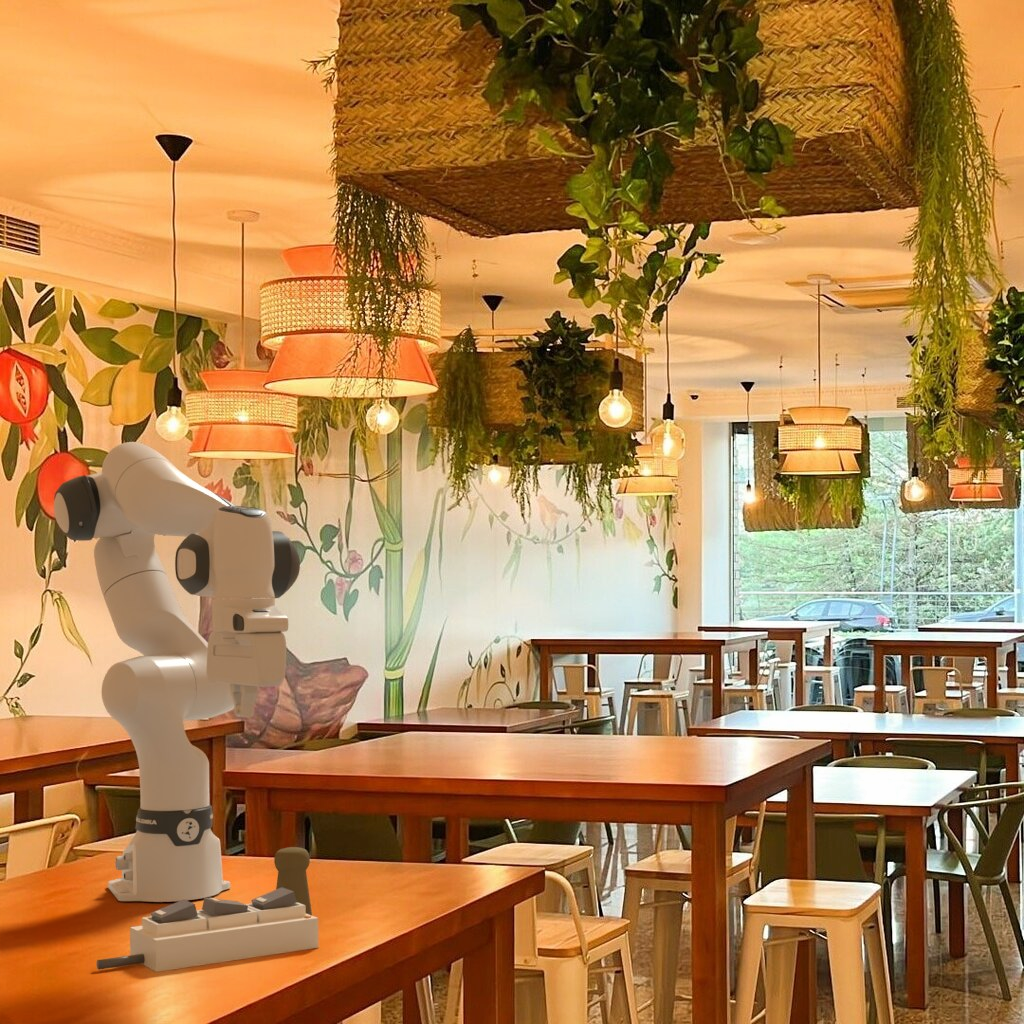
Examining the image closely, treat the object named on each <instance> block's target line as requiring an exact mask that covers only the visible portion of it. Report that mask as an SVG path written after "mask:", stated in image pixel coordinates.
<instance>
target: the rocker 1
mask: <svg viewBox="0 0 1024 1024" xmlns="http://www.w3.org/2000/svg"><path fill="white" fill-rule="evenodd" d="M151 916H152V920H153V921H155V922H157V923H159V924H162V923H170V922H177V921H185V920H188V919H191V918H193V917H195V916H198V914H197V907H196V904H195V903H194V902H190V900H181V901H175V902H174V903H171V904H169V905H167V906H163V907H162V908H160V909H157V910H154V911H152V912H151V913H150V917H151Z"/></svg>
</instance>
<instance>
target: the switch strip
mask: <svg viewBox="0 0 1024 1024" xmlns="http://www.w3.org/2000/svg"><path fill="white" fill-rule="evenodd" d="M244 904H245V903H244ZM245 905H248V909H247V912H245V913H238V914H230V915H214V914H211V913H209V912H206V911H204V910H202V909H200V910H199V909H198V910H197V909H196V911H197V914H198V916H195V917H193V918H191V919H188V920H185V921H177V922H170V923H162V924H159V923H157V922H155V921H153V920H152V916H151V915H150V916H146V917H145V916H144V917H141V925H137V926H130V927H129V932H130V933H129V936H130V937H129V939H130V940H129V945H130V946H129V951H130V952H129V955H124V956H117V957H109V958H103V959H102V958H101V959H97V960H96V969H97V970H104V969H106V970H107V969H111V968H113V969H114V968H119V967H125V966H126V967H127V966H132V965H139V964H141V965H143V966H145V967H147V968H148V969H150V970H152V971H154V972H157V973H158V972H165V971H171V970H178V969H185V968H192V967H197V966H198V967H199V966H204V965H205V966H206V965H211V964H212V965H213V964H217V963H218V964H219V963H225V962H231V961H239V960H244V959H252V958H259V957H265V956H273V955H278V954H284V953H285V954H286V953H291V952H297V951H303V950H304V951H305V950H311V949H319V917H316V916H314V915H312V916H311V915H309V914H306V906H305V905H303V904H301V903H298V902H297V903H295V904H292V905H290V906H288V907H283V908H275V909H268V910H260V909H257V908H254V907H253V905H252V903H246V904H245Z"/></svg>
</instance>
